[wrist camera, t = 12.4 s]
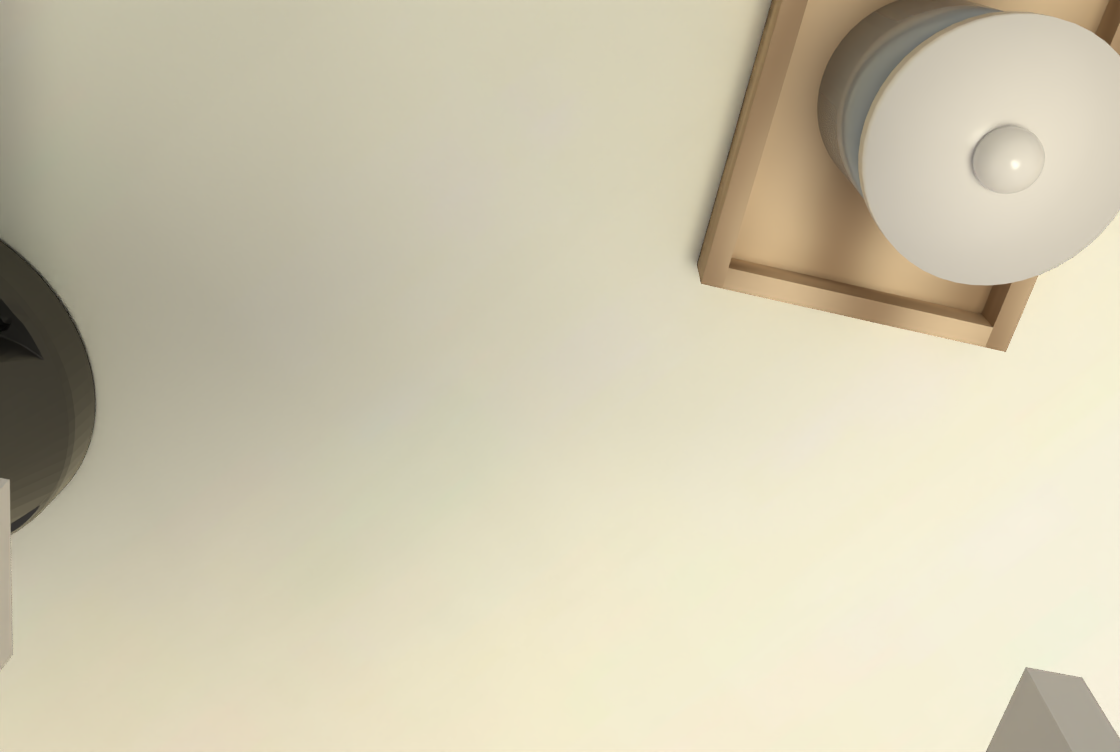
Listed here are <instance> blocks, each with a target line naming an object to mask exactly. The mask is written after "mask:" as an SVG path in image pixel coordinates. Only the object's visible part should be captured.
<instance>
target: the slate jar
mask: <svg viewBox="0 0 1120 752" xmlns="http://www.w3.org/2000/svg"><path fill="white" fill-rule="evenodd" d="M817 118H818V124H819V131H820V134H821V137H822V141H823V143H824V146H825V148H826V150H827V152H828V154H829V156H830V157H831V159H832V160H833V162H834V163H835V165H836V166H837V167H838V168H839V170H840V171H841V172H842V173H843V174H844V176H845V177H846V178H847V179H848V181H849V182H850V183H851V184H852V185H853V187H854V188H855V189H856V190H857V191H858V193H859V194H860V195H861V196H862V197H863V199H864V200H865V203H866V206H867V208H868V210H869V212H870V214H871V217H872V218H873V220H874V221H875V223H876V225H877V226H878V228H879V229H880V231H881V232H882V233H883V234H884V236H885V237H886V238H887V239H888V241H889V242H890V243H891V244H892V245H893V246H894V248H895V249H896V250H897V251H898V252H899V253H900V254H901V255H902V256H904V257H905V258H906V259H907V260H908V261H909V262H911V263H912V264H914V265H915V266H917V267H919V268H920V269H922V270H923V271H925V272H928V273H930V274H932V275H934V276H936V277H939V278H942V279H945V280H949V281H952V282H956V283H962V284H969V285H999V284H1007V283H1012V282H1017V281H1022V280H1025V279H1028V278H1031V277H1034V276H1037V275H1040V274H1043V273H1045V272H1047V271H1049V270H1051V269H1053V268H1056V267H1058V266H1059V265H1061V264H1063V263H1064V262H1066V261H1068V260H1069V259H1071V258H1073V257H1074V256H1075V255H1077V254H1078V253H1079V252H1081V251H1082V250H1083V249H1085V248H1086V247H1087V246H1088V245H1089V244H1091V243H1092V242H1093V241H1094V240H1095V239H1096V238H1097V237H1098V236H1099V235H1100V234H1101V233H1102V232H1103V231H1104V230H1105V229H1106V227H1107V226H1108V225H1109V224H1110V223H1111V221H1112V220H1113V219H1114V218H1115V216H1116V215H1117V213H1118V212H1119V210H1120V56H1119V54H1118V53H1117V52H1116V51H1115V50H1114V49H1113V48H1112V47H1111V46H1110V45H1108V44H1107V43H1106V42H1105V41H1104V40H1103V39H1101V38H1100V37H1098V36H1097V35H1095V34H1094V33H1093V32H1091V31H1089V30H1087V29H1085V28H1083V27H1081V26H1079V25H1077V24H1075V23H1072V22H1068V21H1065V20H1062V19H1059V18H1056V17H1052V16H1048V15H1045V14H1039V13H1033V12H1027V11H1002V10H998V9H995V8H991V7H988V6H984V5H981V4H978V3H974V2H971V1H967V0H897V1H895V2H892V3H889V4H887V5H885V6H883V7H881V8H879V9H877V10H876V11H874V12H872V13H871V14H870V15H868V16H867V17H865V18H864V19H862V20H861V21H860V22H859V23H858V24H857V25H856V26H855V27H853V28H852V29H851V30H850V31H849V33H848V34H847V35H846V36H845V37H844V38H843V39H842V41H841V42H840V43H839V45H838V46H837V48H836V49H835V51H834V52H833V54H832V56H831V58H830V60H829V62H828V64H827V66H826V68H825V71H824V74H823V76H822V80H821V84H820V88H819V93H818V102H817Z"/></svg>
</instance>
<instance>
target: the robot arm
mask: <svg viewBox="0 0 1120 752" xmlns="http://www.w3.org/2000/svg"><path fill="white" fill-rule="evenodd" d="M94 416H95V394H94V385H93V379H92V373H91V369H90V365H89V361H88V358H87V355H86V352H85V349H84V346H83V344H82V341H81V339H80V336H79V334H78V332H77V330H76V328H75V326H74V324H73V322H72V321H71V319H70V317H69V315H68V314H67V312H66V310H65V309H64V307H63V306H62V304H61V303H60V301H59V300H58V298H57V297H56V296H55V294H54V293H53V292H52V290H51V289H50V288H49V286H48V285H47V284H46V283H45V282H44V281H43V279H42V278H41V277H40V276H39V275H38V274H37V273H36V272H35V271H34V270H33V269H32V268H31V267H30V266H29V265H28V264H27V263H26V262H25V261H24V260H23V259H22V258H21V257H20V256H19V255H17V254H16V253H15V252H14V251H13V250H11V249H10V248H9V247H8V246H6V245H5V244H4V243H2V242H1V241H0V671H1V669H2V668H3V667H4V665H5V664H6V663H7V662H8V660H9V659H10V658H11V656H12V655H13V640H12V583H11V535H12V534H13V533H15V532H17V531H18V530H20V529H21V528H23V527H24V526H25V525H27V524H28V523H29V522H31V521H32V520H33V519H34V518H35V517H37V516H38V515H39V514H40V513H41V512H42V511H43V510H44V509H45V508H46V507H47V505H48V504H49V503H50V502H51V501H52V500H53V499H54V498H55V497H56V496H57V495H58V494H59V493H60V492H61V491H62V490H63V488H64V487H65V486H66V485H67V484H68V483H69V482H70V480H71V479H72V478H73V476H74V475H75V473H76V472H77V470H78V468H79V467H80V465H81V463H82V461H83V459H84V457H85V455H86V452H87V449H88V447H89V443H90V440H91V436H92V431H93V425H94ZM986 752H1120V738H1119V737H1118V735H1117V733H1116V732H1115V730H1114V729H1113V727H1112V725H1111V724H1110V722H1109V720H1108V719H1107V717H1106V716H1105V714H1104V712H1103V711H1102V709H1101V707H1100V706H1099V704H1098V703H1097V701H1096V699H1095V698H1094V696H1093V694H1092V693H1091V691H1090V690H1089V688H1088V686H1087V685H1086V683H1085V681H1084V680H1083V678H1081V677H1076V676H1070V675H1065V674H1060V673H1054V672H1049V671H1043V670H1038V669H1032V668H1027V667H1026V668H1025V670H1024V672H1023V674H1022V676H1021V678H1020V680H1019V683H1018V685H1017V687H1016V689H1015V691H1014V693H1013V695H1012V697H1011V700H1010V702H1009V704H1008V706H1007V708H1006V710H1005V712H1004V714H1003V717H1002V719H1001V721H1000V723H999V725H998V727H997V729H996V731H995V734H994V736H993V738H992V740H991V742H990V744H989V746H988V748H987V750H986Z"/></svg>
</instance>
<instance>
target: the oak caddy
mask: <svg viewBox="0 0 1120 752" xmlns="http://www.w3.org/2000/svg"><path fill="white" fill-rule="evenodd" d="M895 1H897V0H772V2H771V6H770V9H769V13H768V17H767V20H766V24H765V27H764V31H763V34H762V38H761V41H760V45H759V48H758V52H757V55H756V59H755V62H754V66H753V69H752V73H751V76H750V80H749V83H748V87H747V90H746V94H745V97H744V101H743V104H742V108H741V112H740V115H739V119H738V122H737V126H736V129H735V133H734V136H733V140H732V143H731V147H730V150H729V154H728V157H727V161H726V164H725V168H724V171H723V175H722V178H721V182H720V185H719V189H718V192H717V196H716V199H715V203H714V207H713V210H712V214H711V217H710V221H709V224H708V228H707V231H706V235H705V238H704V242H703V245H702V249H701V252H700V256H699V259H698V263H697V267H698V272H699V276H700V281H701V284H705V285H710V286H714V287H719V288H723V289H727V290H732V291H736V292H741V293H745V294H750V295H754V296H759V297H763V298H768V299H772V300H777V301H781V302H786V303H790V304H794V305H799V306H803V307H808V308H812V309H817V310H821V311H826V312H830V313H835V314H839V315H844V316H848V317H853V318H857V319H861V320H866V321H870V322H875V323H879V324H884V325H888V326H893V327H897V328H902V329H906V330H911V331H915V332H920V333H924V334H928V335H933V336H937V337H942V338H946V339H951V340H955V341H960V342H964V343H969V344H973V345H978V346H982V347H987V348H991V349H995V350H1000V351H1004V352H1006V350H1007V348H1008V346H1009V343H1010V341H1011V338H1012V336H1013V334H1014V331H1015V329H1016V327H1017V324H1018V322H1019V320H1020V317H1021V315H1022V313H1023V310H1024V308H1025V306H1026V303H1027V301H1028V298H1029V296H1030V294H1031V291H1032V289H1033V287H1034V284H1035V282H1036V280H1037V277H1038V275H1037V276H1034V277H1031V278H1028V279H1025V280H1022V281H1017V282H1012V283H1007V284H999V285H969V284H962V283H956V282H952V281H949V280H945V279H942V278H939V277H936V276H934V275H932V274H930V273H928V272H925V271H923V270H922V269H920V268H919V267H917V266H915V265H914V264H912V263H911V262H909V261H908V260H907V259H906V258H905V257H904V256H902V255H901V254H900V253H899V252H898V251H897V250H896V249H895V248H894V246H893V245H892V244H891V243H890V242H889V241H888V239H887V238H886V237H885V236H884V234H883V233H882V232H881V231H880V229H879V228H878V226H877V225H876V223H875V221H874V220H873V218H872V217H871V214H870V212H869V210H868V208H867V206H866V203H865V200H864V199H863V197H862V196H861V195H860V194H859V193H858V191H857V190H856V189H855V188H854V187H853V185H852V184H851V183H850V182H849V181H848V179H847V178H846V177H845V176H844V174H843V173H842V172H841V171H840V170H839V168H838V167H837V166H836V165H835V163H834V162H833V160H832V159H831V157H830V156H829V154H828V152H827V150H826V148H825V146H824V143H823V141H822V137H821V134H820V131H819V124H818V118H817V102H818V93H819V88H820V84H821V80H822V76H823V74H824V71H825V68H826V66H827V64H828V62H829V60H830V58H831V56H832V54H833V52H834V51H835V49H836V48H837V46H838V45H839V43H840V42H841V41H842V39H843V38H844V37H845V36H846V35H847V34H848V33H849V31H850V30H851V29H852V28H853V27H855V26H856V25H857V24H858V23H859V22H860V21H861V20H862V19H864V18H865V17H867V16H868V15H870V14H871V13H872V12H874V11H876V10H877V9H879V8H881V7H883V6H885V5H887V4H889V3H892V2H895ZM967 1H971V2H974V3H978V4H981V5H984V6H988V7H991V8H995V9H998V10H1002V11H1027V12H1033V13H1039V14H1045V15H1048V16H1052V17H1056V18H1059V19H1062V20H1065V21H1068V22H1072V23H1075V24H1077V25H1079V26H1081V27H1083V28H1085V29H1087V30H1089V31H1091V32H1093V33H1094V34H1095V35H1097V36H1098V37H1100V38H1101V39H1103V40H1104V41H1105V42H1106V43H1107V44H1108V45H1110V46H1111V47H1112V48H1113V49H1114V50H1115V51H1116V52H1117V53H1118V54H1119V56H1120V0H967Z"/></svg>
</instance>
